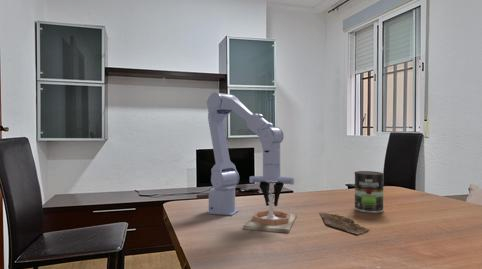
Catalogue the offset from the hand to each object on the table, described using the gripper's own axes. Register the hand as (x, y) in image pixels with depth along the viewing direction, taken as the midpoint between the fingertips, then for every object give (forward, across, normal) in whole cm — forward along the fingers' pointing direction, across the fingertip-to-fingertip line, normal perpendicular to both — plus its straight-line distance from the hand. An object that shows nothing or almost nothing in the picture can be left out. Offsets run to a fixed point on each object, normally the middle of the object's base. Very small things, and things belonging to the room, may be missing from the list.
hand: (271, 205), depth 104 cm
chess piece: (+5, 0, -1) cm, 5 cm away
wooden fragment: (+6, +21, +6) cm, 23 cm away
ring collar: (+6, 0, 0) cm, 6 cm away
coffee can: (+6, +32, +27) cm, 42 cm away
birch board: (+6, 0, 0) cm, 6 cm away
